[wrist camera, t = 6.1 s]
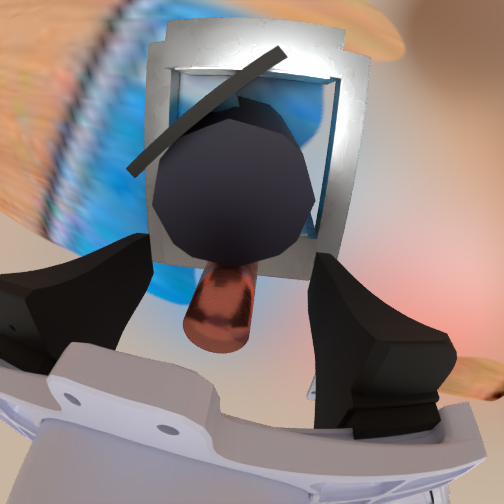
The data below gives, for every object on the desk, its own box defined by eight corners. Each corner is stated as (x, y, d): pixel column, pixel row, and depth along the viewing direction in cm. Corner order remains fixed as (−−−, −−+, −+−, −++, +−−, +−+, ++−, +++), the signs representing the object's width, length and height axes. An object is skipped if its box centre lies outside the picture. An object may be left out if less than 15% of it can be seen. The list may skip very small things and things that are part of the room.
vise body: (328, 269, 20) (337, 306, 16) (159, 251, 20) (137, 282, 17) (363, 53, 13) (387, 40, 9) (159, 39, 13) (129, 26, 10)
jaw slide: (303, 246, 19) (318, 363, 10) (184, 233, 19) (121, 335, 11) (310, 209, 18) (336, 314, 9) (183, 197, 18) (108, 285, 10)
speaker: (172, 90, 15) (78, 110, 6) (264, 60, 14) (279, 29, 5) (212, 197, 19) (178, 309, 10) (297, 174, 18) (337, 274, 9)
